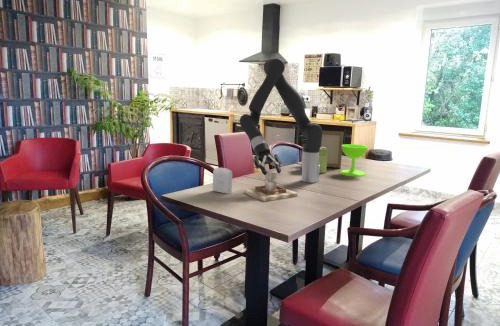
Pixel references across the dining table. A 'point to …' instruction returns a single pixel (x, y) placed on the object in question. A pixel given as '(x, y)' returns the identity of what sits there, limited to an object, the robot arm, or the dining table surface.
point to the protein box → (321, 159)
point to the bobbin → (271, 181)
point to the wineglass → (353, 158)
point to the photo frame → (333, 147)
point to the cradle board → (270, 193)
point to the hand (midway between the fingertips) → (272, 173)
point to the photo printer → (222, 180)
